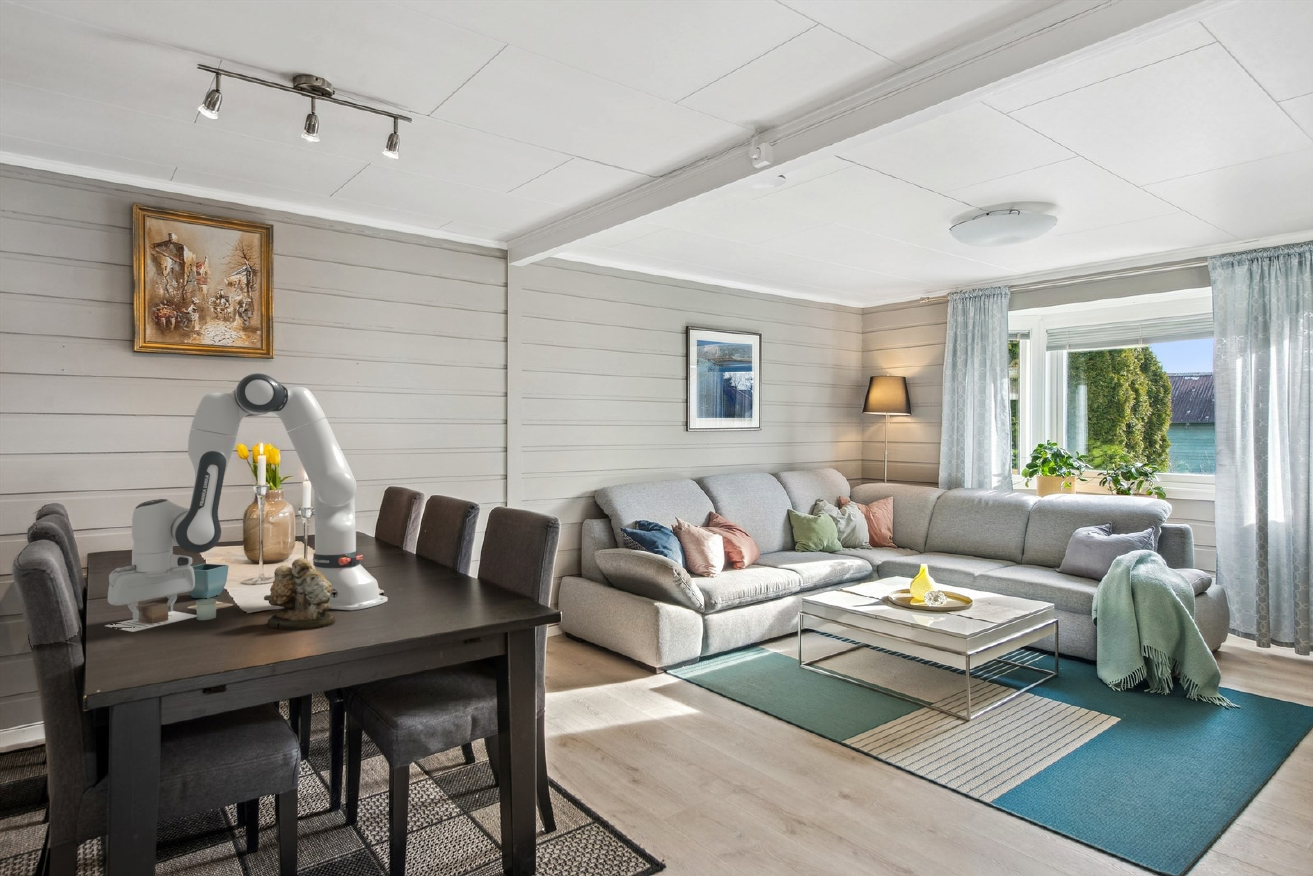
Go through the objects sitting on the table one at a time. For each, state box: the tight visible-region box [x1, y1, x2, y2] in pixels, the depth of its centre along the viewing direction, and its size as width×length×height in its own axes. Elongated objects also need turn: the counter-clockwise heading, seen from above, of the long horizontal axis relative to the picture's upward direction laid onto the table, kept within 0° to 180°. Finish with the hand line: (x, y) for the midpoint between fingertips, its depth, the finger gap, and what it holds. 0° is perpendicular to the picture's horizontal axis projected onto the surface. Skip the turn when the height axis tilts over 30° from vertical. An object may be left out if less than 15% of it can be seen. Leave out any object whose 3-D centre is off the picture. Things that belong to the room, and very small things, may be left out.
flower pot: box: [187, 563, 230, 599], centre depth 225 cm, size 9×9×9 cm
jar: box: [195, 597, 217, 621], centre depth 200 cm, size 5×5×5 cm
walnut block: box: [137, 602, 168, 624], centre depth 197 cm, size 6×4×4 cm, turn 64°
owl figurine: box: [263, 557, 336, 631], centre depth 196 cm, size 18×12×17 cm, turn 87°
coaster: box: [186, 600, 234, 611], centre depth 212 cm, size 8×8×1 cm
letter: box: [104, 610, 197, 632], centre depth 197 cm, size 12×17×1 cm
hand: (153, 615), depth 197 cm, fingers open, 6 cm apart
